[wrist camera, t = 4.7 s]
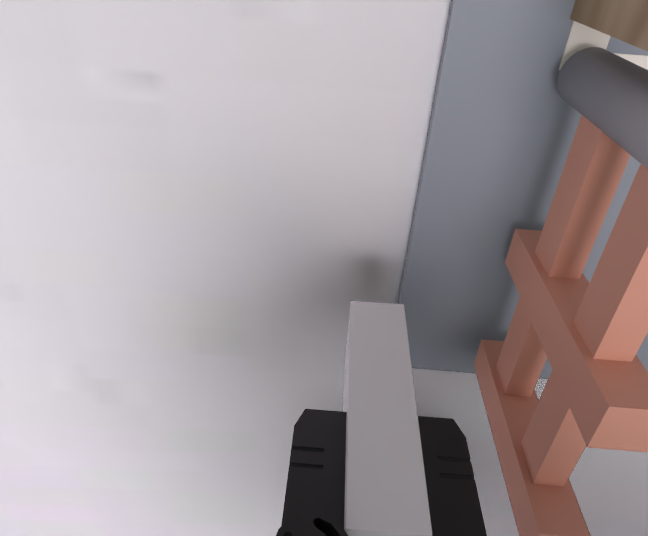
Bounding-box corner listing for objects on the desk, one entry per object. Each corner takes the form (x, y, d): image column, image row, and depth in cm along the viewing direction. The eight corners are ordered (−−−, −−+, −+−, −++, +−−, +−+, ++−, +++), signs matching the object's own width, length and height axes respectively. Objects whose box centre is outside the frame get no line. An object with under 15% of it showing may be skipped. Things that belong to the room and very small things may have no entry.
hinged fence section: (567, 44, 12) (745, 142, 7) (625, 49, 12) (852, 151, 7) (470, 364, 18) (521, 559, 13) (509, 367, 18) (577, 563, 13)
